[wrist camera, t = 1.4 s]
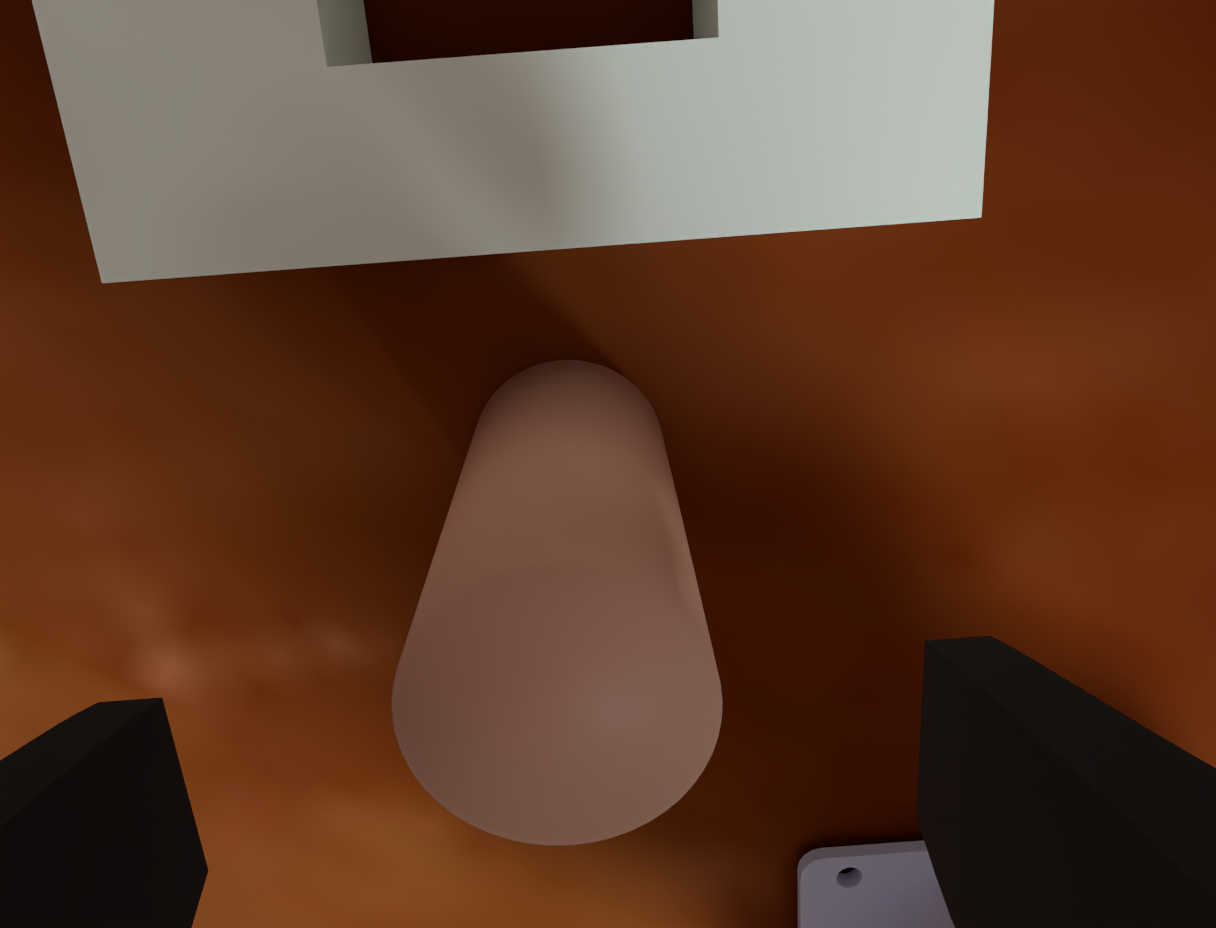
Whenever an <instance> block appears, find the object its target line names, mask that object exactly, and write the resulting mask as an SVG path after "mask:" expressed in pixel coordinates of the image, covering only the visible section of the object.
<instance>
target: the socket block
mask: <svg viewBox="0 0 1216 928" xmlns="http://www.w3.org/2000/svg"><path fill="white" fill-rule="evenodd" d="M32 4H33V8H34V12H35V16H36V20H37V24H38V28H39V32H40V36H41V40H42V44H43V48H44V52H45V56H46V60H47V64H48V68H49V72H50V76H51V80H52V84H53V88H54V92H55V96H56V100H57V105H58V109H59V113H60V117H61V121H62V125H63V129H64V133H65V137H66V141H67V145H68V149H69V153H70V157H71V161H72V165H73V169H74V173H75V177H76V181H77V185H78V189H79V193H80V197H81V201H82V205H83V209H84V213H85V217H86V221H87V225H88V229H89V234H90V238H91V242H92V246H93V250H94V254H95V258H96V262H97V266H98V270H99V274H100V278H101V282H102V283H113V282H127V281H140V280H153V279H167V278H180V277H193V276H207V275H220V274H234V273H247V272H260V271H274V270H287V269H300V268H314V267H327V266H341V265H354V264H367V263H381V262H394V261H407V260H421V259H434V258H447V257H461V256H474V255H488V254H501V253H514V252H528V251H541V250H554V249H568V248H581V247H595V246H608V245H621V244H635V243H648V242H661V241H675V240H688V239H702V238H715V237H728V236H742V235H755V234H768V233H782V232H795V231H809V230H822V229H835V228H849V227H862V226H875V225H889V224H902V223H916V222H929V221H942V220H956V219H969V218H981V216H982V199H983V182H984V165H985V148H986V131H987V114H988V97H989V81H990V64H991V47H992V30H993V13H994V0H692V9H693V36H694V39H690V40H677V41H664V42H650V43H637V44H624V45H611V46H597V47H584V48H571V49H557V50H544V51H531V52H518V53H504V54H491V55H478V56H465V57H451V58H438V59H425V60H411V61H398V62H385V63H372V57H371V50H370V43H369V36H368V29H367V22H366V15H365V8H364V1H363V0H32Z"/></svg>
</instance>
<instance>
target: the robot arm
mask: <svg viewBox="0 0 1216 928" xmlns="http://www.w3.org/2000/svg"><path fill="white" fill-rule="evenodd" d="M917 820H918V824H919V827H920V830H921V833H922V836H923V839H924V840H923V841H909V842H896V843H882V844H868V845H855V846H841V847H827V848H819V849H815V850H811V851H810V852H808V853H807V854H805V855H804V856H803V857H802V858H801V860H800V861H799V864H798V869H797V883H798V928H1216V768H1214V767H1213V766H1211V765H1209V764H1207V763H1205V762H1204V761H1202V760H1200V759H1198V758H1197V757H1195V756H1193V755H1191V754H1190V753H1188V752H1186V751H1184V750H1183V749H1181V748H1179V747H1178V746H1176V745H1174V744H1172V743H1171V742H1169V741H1167V740H1166V739H1164V738H1162V737H1161V736H1159V735H1157V734H1155V733H1154V732H1152V731H1150V730H1149V729H1147V728H1145V727H1144V726H1142V725H1140V724H1139V723H1137V722H1135V721H1134V720H1132V719H1130V718H1129V717H1127V716H1125V715H1124V714H1122V713H1120V712H1119V711H1117V710H1115V709H1114V708H1112V707H1110V706H1109V705H1107V704H1105V703H1104V702H1102V701H1100V700H1099V699H1097V698H1096V697H1094V696H1092V695H1091V694H1089V693H1087V692H1086V691H1084V690H1082V689H1081V688H1079V687H1078V686H1076V685H1074V684H1073V683H1071V682H1069V681H1068V680H1066V679H1064V678H1063V677H1061V676H1059V675H1058V674H1056V673H1055V672H1053V671H1051V670H1050V669H1048V668H1046V667H1045V666H1043V665H1041V664H1040V663H1038V662H1036V661H1035V660H1033V659H1031V658H1030V657H1028V656H1026V655H1024V654H1023V653H1021V652H1019V651H1017V650H1016V649H1014V648H1012V647H1010V646H1008V645H1007V644H1005V643H1003V642H1001V641H999V640H997V639H995V638H993V637H991V636H983V637H969V638H956V639H943V640H929V641H925V653H924V674H923V695H922V716H921V737H920V758H919V779H918V800H917ZM849 867H851V868H855V869H854V870H852V871H851V872H849V873H845V874H842V873H839V872H840V871H841V870H843V869H845V868H849ZM207 873H208V868H207V864H206V860H205V857H204V853H203V849H202V845H201V842H200V838H199V834H198V830H197V827H196V823H195V819H194V815H193V812H192V808H191V804H190V800H189V797H188V793H187V789H186V785H185V782H184V778H183V774H182V771H181V767H180V763H179V759H178V756H177V752H176V748H175V744H174V741H173V737H172V733H171V729H170V726H169V722H168V718H167V714H166V711H165V707H164V703H163V699H162V698H151V699H137V700H124V701H110V702H98V703H96V704H94V705H92V706H90V707H88V708H86V709H84V710H83V711H81V712H79V713H77V714H75V715H73V716H71V717H70V718H68V719H66V720H65V721H63V722H61V723H59V724H58V725H56V726H55V727H53V728H51V729H50V730H48V731H46V732H45V733H43V734H41V735H40V736H38V737H37V738H35V739H33V740H32V741H30V742H29V743H27V744H26V745H24V746H22V747H21V748H19V749H18V750H16V751H15V752H13V753H12V754H10V755H8V756H7V757H5V758H4V759H2V760H1V761H0V928H191V927H192V924H193V920H194V917H195V914H196V910H197V907H198V903H199V900H200V897H201V893H202V890H203V886H204V883H205V880H206V876H207Z"/></svg>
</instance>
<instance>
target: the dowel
mask: <svg viewBox="0 0 1216 928" xmlns="http://www.w3.org/2000/svg"><path fill="white" fill-rule="evenodd" d="M722 702H723V700H722V692H721V683H720V678H719V674H718V670H717V665H716V661H715V657H714V653H713V648H712V644H711V640H710V635H709V631H708V627H707V623H706V618H705V614H704V610H703V605H702V601H701V597H700V593H699V588H698V584H697V580H696V576H695V571H694V567H693V563H692V558H691V554H690V550H689V546H688V541H687V537H686V533H685V528H684V524H683V520H682V516H681V511H680V507H679V503H678V498H677V494H676V490H675V486H674V481H673V477H672V473H671V468H670V464H669V460H668V456H667V451H666V447H665V443H664V438H663V434H662V430H661V427H660V423H659V420H658V418H657V415H656V413H655V411H654V409H653V407H652V406H651V404H650V402H649V401H648V399H647V398H646V397H645V396H644V394H643V393H642V392H641V391H640V390H639V389H638V388H637V387H636V386H635V385H634V384H633V383H632V382H631V381H629V380H628V379H627V378H625V377H624V376H622V375H621V374H619V373H617V372H615V371H614V370H612V369H610V368H607V367H605V366H602V365H599V364H596V363H592V362H588V361H581V360H555V361H548V362H544V363H541V364H537V365H534V366H532V367H529V368H527V369H525V370H523V371H521V372H519V373H517V374H516V375H514V376H512V377H511V378H510V379H509V380H507V381H506V382H505V383H503V384H502V385H501V386H500V387H499V388H498V389H497V390H496V391H495V392H494V394H493V395H492V396H491V398H490V399H489V400H488V402H487V403H486V405H485V407H484V409H483V411H482V413H481V415H480V418H479V420H478V423H477V426H476V429H475V432H474V435H473V438H472V441H471V444H470V447H469V450H468V453H467V456H466V459H465V462H464V465H463V468H462V472H461V475H460V478H459V481H458V484H457V487H456V490H455V493H454V496H453V499H452V502H451V505H450V508H449V511H448V514H447V517H446V520H445V523H444V526H443V530H442V533H441V536H440V539H439V542H438V545H437V548H436V551H435V554H434V557H433V560H432V563H431V566H430V569H429V572H428V575H427V578H426V581H425V584H424V588H423V591H422V594H421V597H420V600H419V603H418V606H417V609H416V612H415V615H414V618H413V621H412V624H411V627H410V630H409V633H408V636H407V639H406V643H405V646H404V649H403V652H402V655H401V658H400V661H399V664H398V667H397V670H396V675H395V679H394V684H393V690H392V717H393V726H394V730H395V734H396V738H397V742H398V745H399V747H400V750H401V752H402V754H403V757H404V759H405V761H406V763H407V764H408V766H409V768H410V769H411V771H412V773H413V775H414V776H415V777H416V779H417V780H418V781H419V782H420V784H421V785H422V786H423V787H424V789H425V790H426V791H427V792H428V793H429V794H430V795H431V796H432V797H433V798H434V799H435V800H436V801H437V802H438V803H439V804H440V805H442V806H443V807H444V808H446V809H447V810H448V811H450V812H451V813H452V814H454V815H455V816H456V817H458V818H460V819H462V820H463V821H465V822H467V823H469V824H470V825H472V826H474V827H476V828H479V829H481V830H483V831H485V832H488V833H490V834H493V835H496V836H499V837H503V838H506V839H509V840H513V841H518V842H523V843H529V844H538V845H549V846H558V845H577V844H585V843H593V842H597V841H601V840H605V839H609V838H613V837H616V836H619V835H621V834H624V833H627V832H630V831H632V830H634V829H636V828H638V827H640V826H642V825H644V824H646V823H648V822H650V821H652V820H653V819H655V818H656V817H658V816H659V815H661V814H662V813H664V812H665V811H667V810H668V809H669V808H670V807H671V806H673V805H674V804H675V803H676V802H678V801H679V800H680V799H681V798H682V797H683V796H684V795H685V794H686V792H687V791H688V790H689V789H690V788H691V787H692V786H693V785H694V783H695V782H696V781H697V779H698V778H699V776H700V775H701V774H702V772H703V771H704V769H705V767H706V765H707V763H708V761H709V759H710V758H711V756H712V753H713V751H714V748H715V745H716V742H717V739H718V736H719V731H720V726H721V721H722Z"/></svg>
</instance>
